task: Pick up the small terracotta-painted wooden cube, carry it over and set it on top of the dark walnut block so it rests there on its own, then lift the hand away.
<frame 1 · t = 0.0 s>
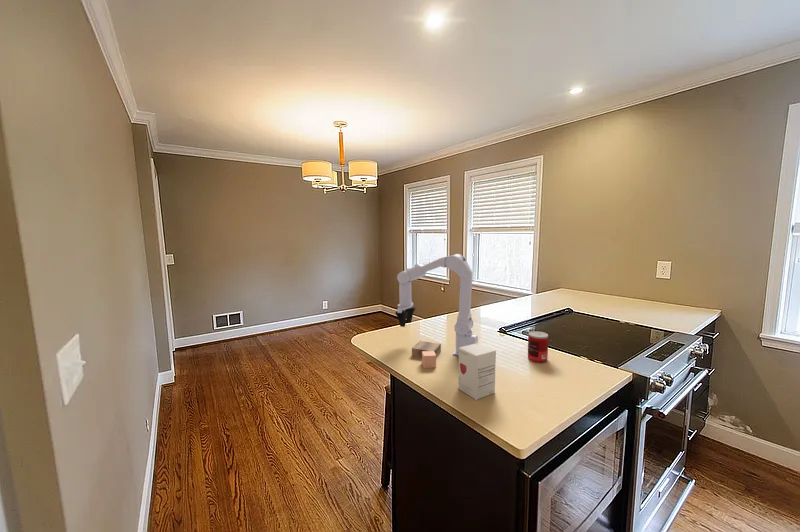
hand: (405, 324, 155), 10 cm above the table, tool pointing down, fingers open, 7 cm apart
terracotta cube: (428, 365, 132), on the table
canned food: (537, 359, 137), on the table
supplement box: (476, 391, 111), on the table
walnut block: (426, 354, 144), on the table
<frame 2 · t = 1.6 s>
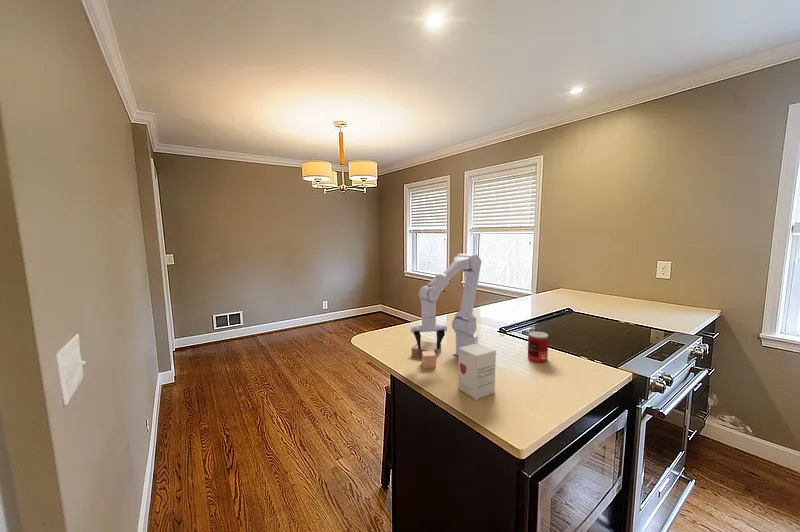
hand: (428, 348, 132), 7 cm above the table, tool pointing down, fingers open, 7 cm apart
nothing on the table moved.
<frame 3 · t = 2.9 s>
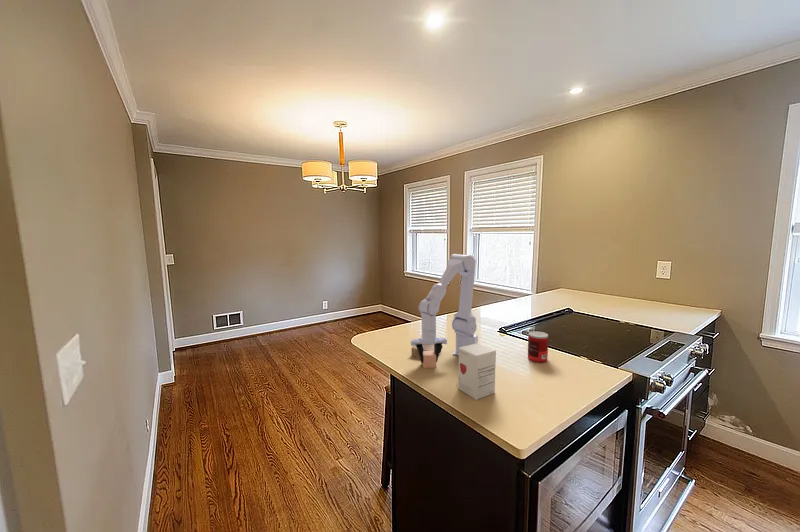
hand: (428, 361, 132), 1 cm above the table, tool pointing down, fingers closed on terracotta cube, 5 cm apart
terracotta cube: (428, 365, 132), on the table, touching gripper
everything else where it was.
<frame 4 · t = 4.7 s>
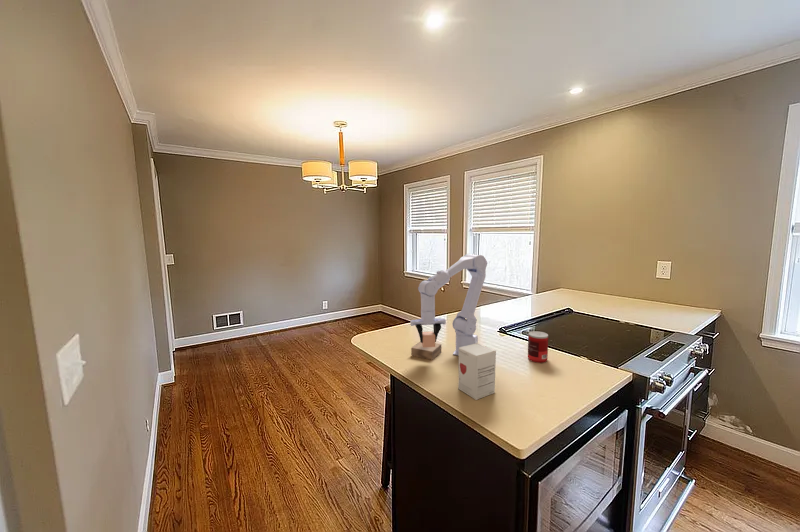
hand: (428, 341, 136), 8 cm above the table, tool pointing down, fingers closed on terracotta cube, 5 cm apart
terracotta cube: (428, 345, 136), point 7 cm above the table, touching gripper
everything else where it was.
when the fingers open (7 cm above the table, at t = 6.5 s): terracotta cube drops 2 cm, resting on walnut block.
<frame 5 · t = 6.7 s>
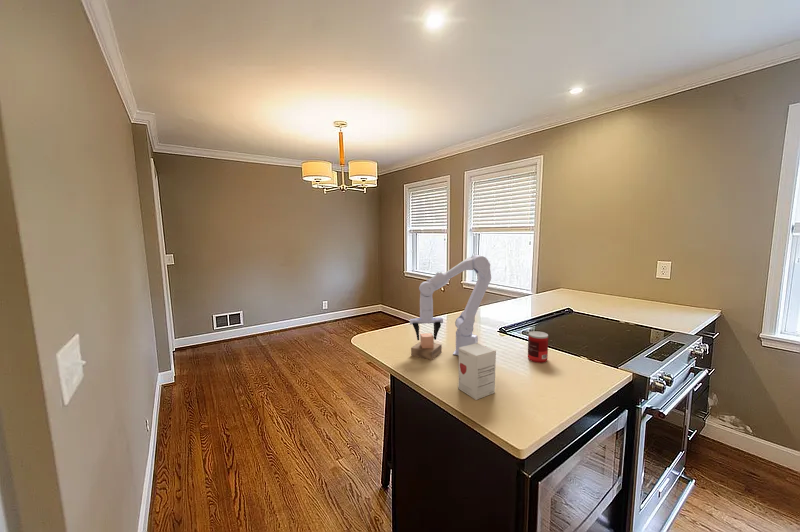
hand: (426, 339, 144), 7 cm above the table, tool pointing down, fingers open, 7 cm apart
terracotta cube: (426, 346, 144), point 4 cm above the table, touching walnut block
walnut block: (426, 354, 144), on the table, touching terracotta cube
everything else where it was.
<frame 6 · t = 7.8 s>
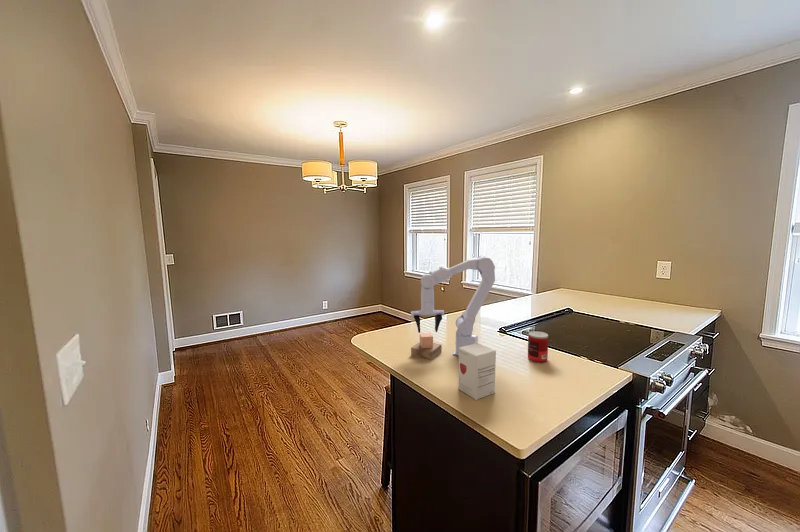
hand: (427, 331, 144), 10 cm above the table, tool pointing down, fingers open, 7 cm apart
terracotta cube: (426, 346, 144), point 4 cm above the table
walnut block: (426, 354, 144), on the table
everything else where it was.
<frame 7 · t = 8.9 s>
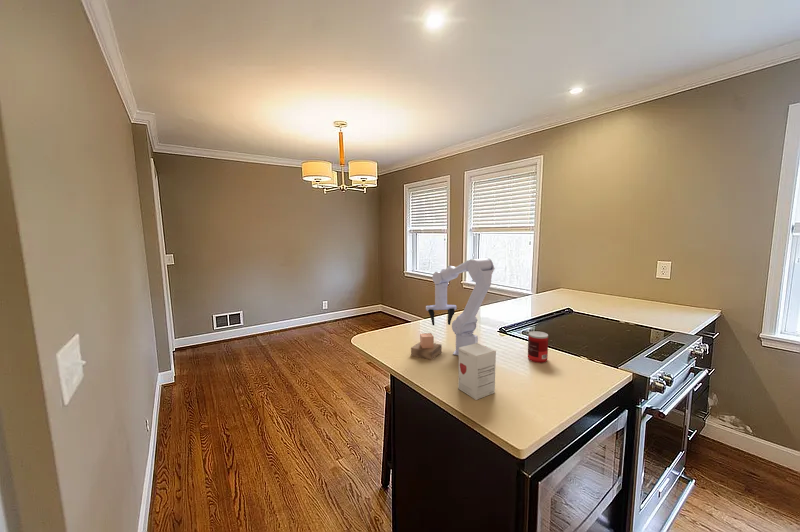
hand: (441, 324, 156), 9 cm above the table, tool pointing down, fingers open, 7 cm apart
terracotta cube: (426, 346, 144), point 4 cm above the table, touching walnut block
walnut block: (426, 354, 144), on the table, touching terracotta cube
everything else where it was.
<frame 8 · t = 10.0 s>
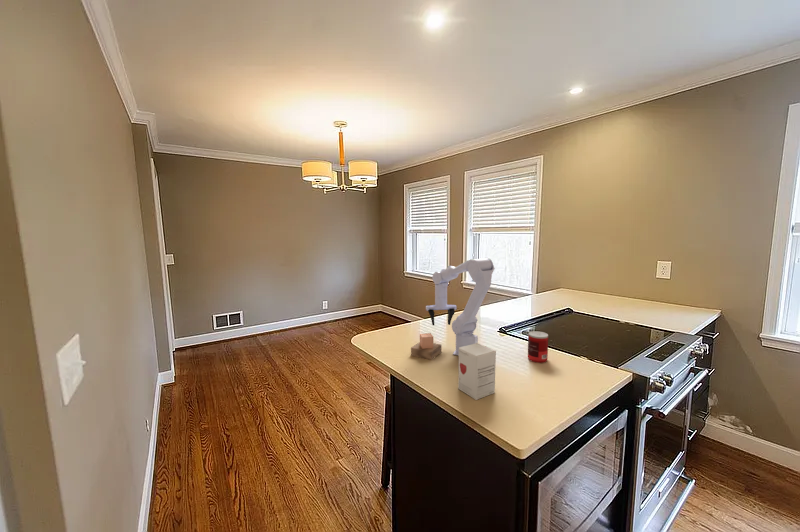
hand: (441, 324, 156), 9 cm above the table, tool pointing down, fingers open, 7 cm apart
terracotta cube: (426, 346, 144), point 4 cm above the table
walnut block: (426, 354, 144), on the table
everything else where it was.
at the end: terracotta cube 0.1 cm off-centre on the walnut block, point 4.0 cm above the walnut block's base; terracotta cube tilted 0°; the gripper is holding nothing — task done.
